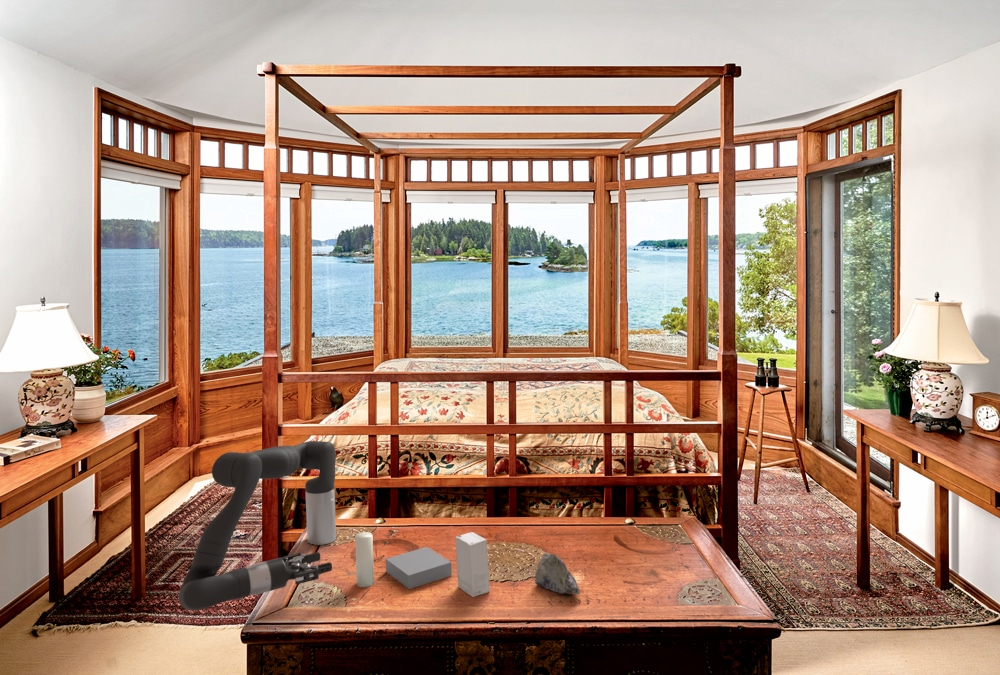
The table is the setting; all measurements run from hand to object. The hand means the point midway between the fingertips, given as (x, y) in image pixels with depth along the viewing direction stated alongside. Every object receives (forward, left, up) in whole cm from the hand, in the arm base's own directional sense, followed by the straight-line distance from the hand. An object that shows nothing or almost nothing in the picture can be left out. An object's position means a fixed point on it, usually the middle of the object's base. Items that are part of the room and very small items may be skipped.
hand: (325, 560), depth 178 cm
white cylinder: (0, +11, -10) cm, 15 cm away
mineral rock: (+37, +51, -10) cm, 64 cm away
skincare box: (+22, +33, -10) cm, 41 cm away
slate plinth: (+4, +26, -10) cm, 28 cm away
